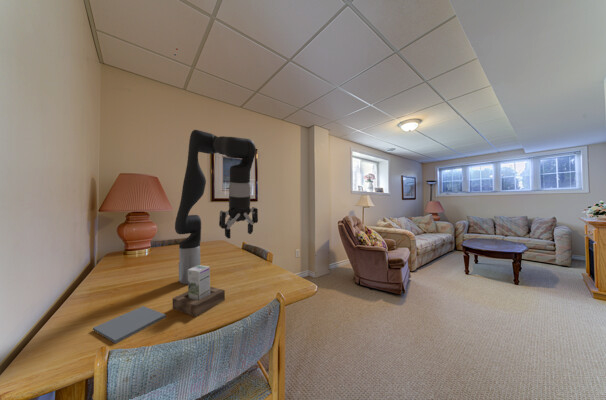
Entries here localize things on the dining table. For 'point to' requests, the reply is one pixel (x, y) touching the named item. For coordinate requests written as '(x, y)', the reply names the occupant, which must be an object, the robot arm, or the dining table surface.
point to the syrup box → (198, 282)
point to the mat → (129, 324)
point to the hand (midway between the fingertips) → (239, 235)
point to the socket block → (198, 302)
